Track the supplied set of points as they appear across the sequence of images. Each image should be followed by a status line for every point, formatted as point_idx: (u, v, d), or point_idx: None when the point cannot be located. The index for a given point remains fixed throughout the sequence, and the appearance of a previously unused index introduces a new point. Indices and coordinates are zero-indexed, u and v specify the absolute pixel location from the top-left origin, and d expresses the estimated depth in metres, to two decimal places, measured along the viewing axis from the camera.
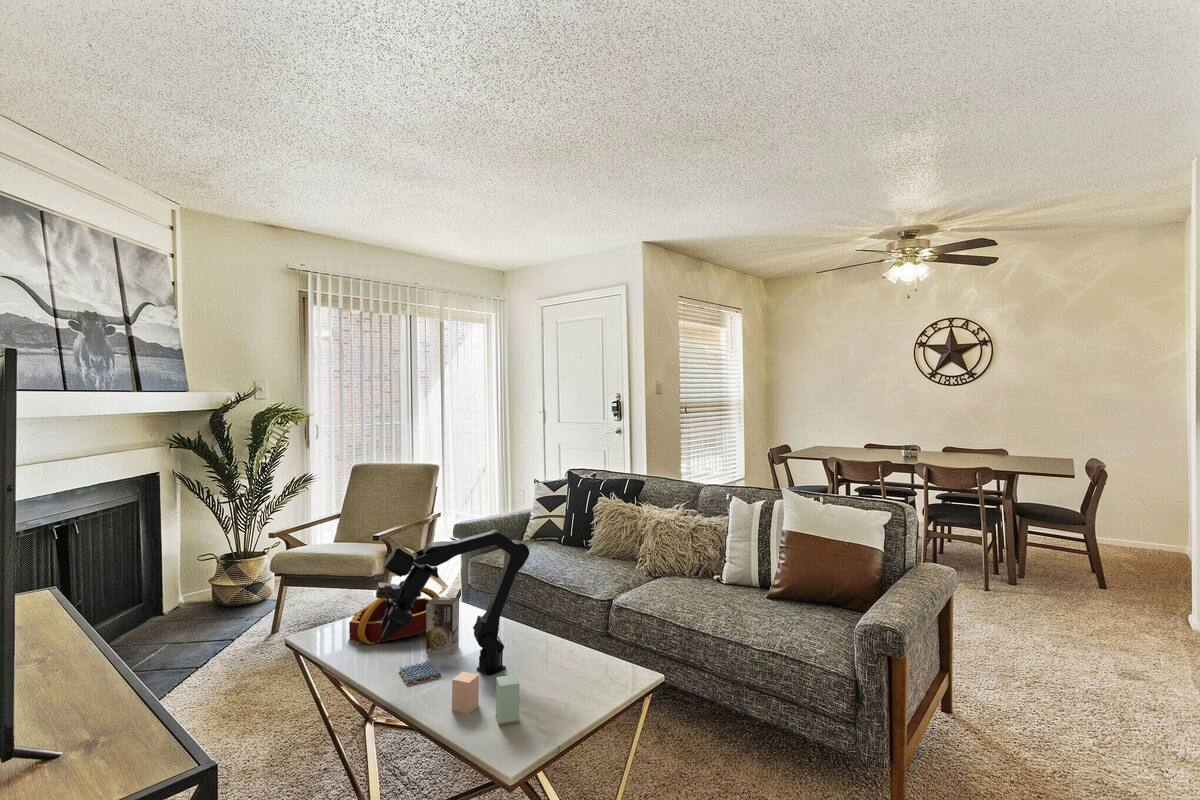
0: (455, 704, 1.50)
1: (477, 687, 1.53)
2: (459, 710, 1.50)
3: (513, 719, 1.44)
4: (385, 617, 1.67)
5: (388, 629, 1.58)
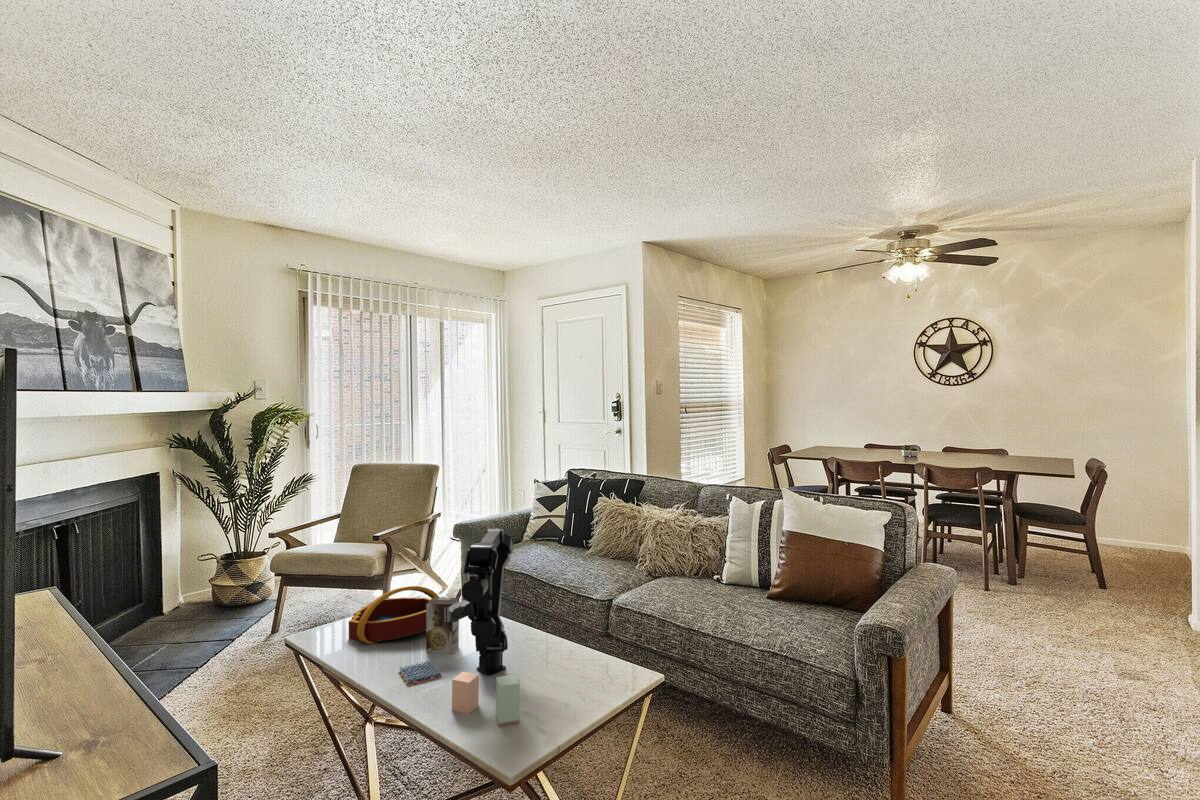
0: (455, 704, 1.50)
1: (477, 687, 1.53)
2: (459, 710, 1.50)
3: (513, 719, 1.44)
4: None
5: (480, 644, 1.53)
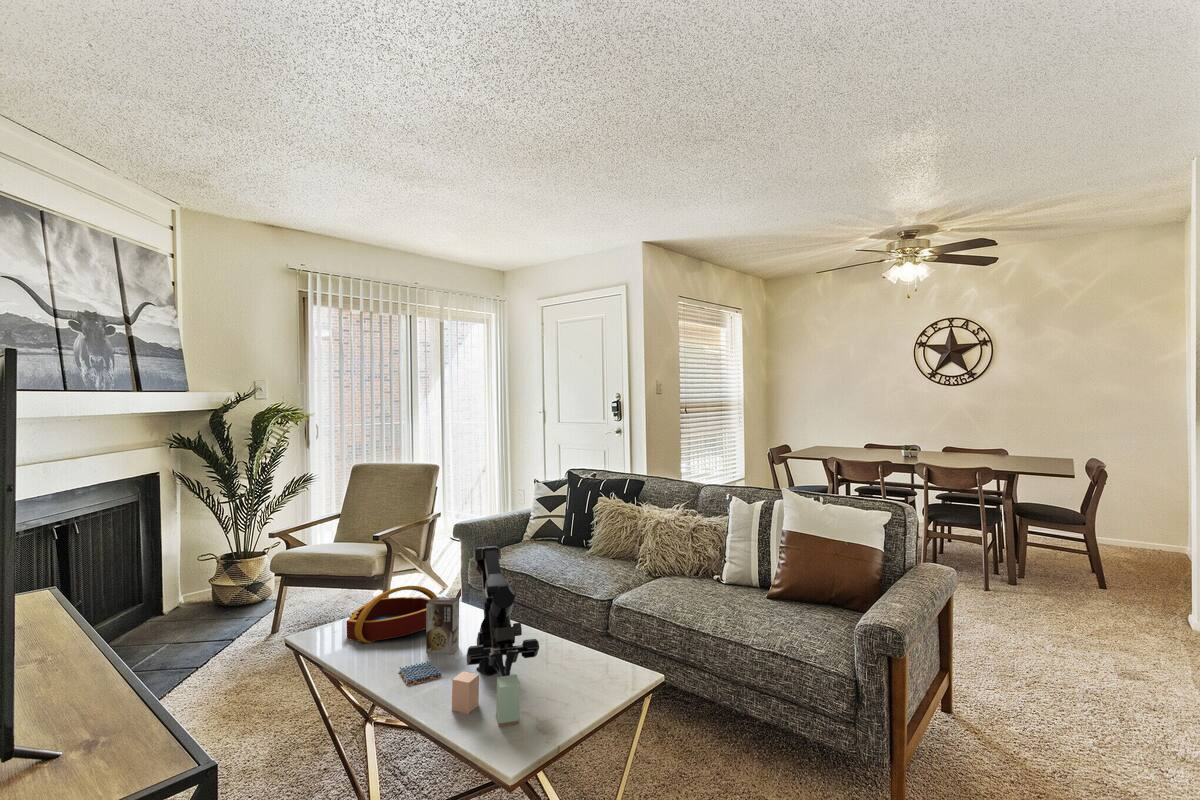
0: (455, 704, 1.50)
1: (477, 687, 1.53)
2: (459, 710, 1.50)
3: (513, 719, 1.44)
4: (504, 671, 1.50)
5: None
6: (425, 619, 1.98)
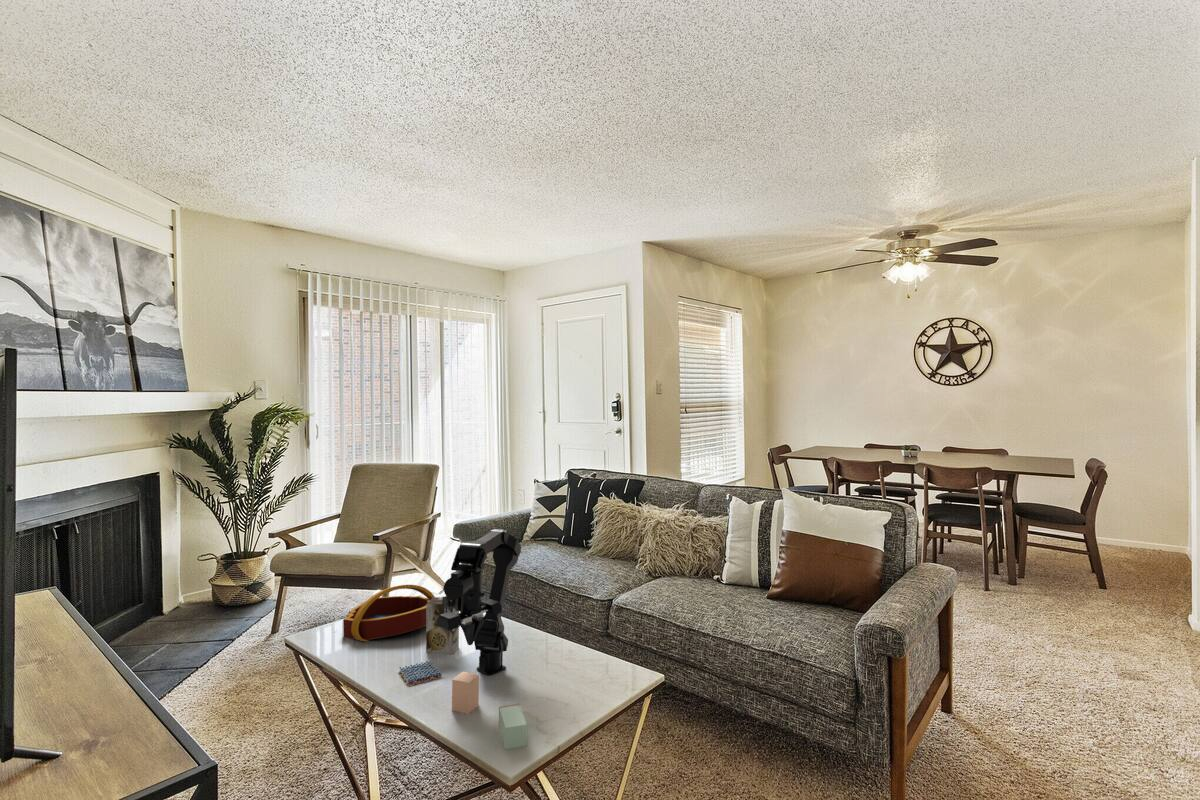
0: (455, 704, 1.50)
1: (477, 687, 1.53)
2: (459, 710, 1.50)
3: None
4: None
5: (465, 633, 1.60)
6: (421, 618, 1.99)
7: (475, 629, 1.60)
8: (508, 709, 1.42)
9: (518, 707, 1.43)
